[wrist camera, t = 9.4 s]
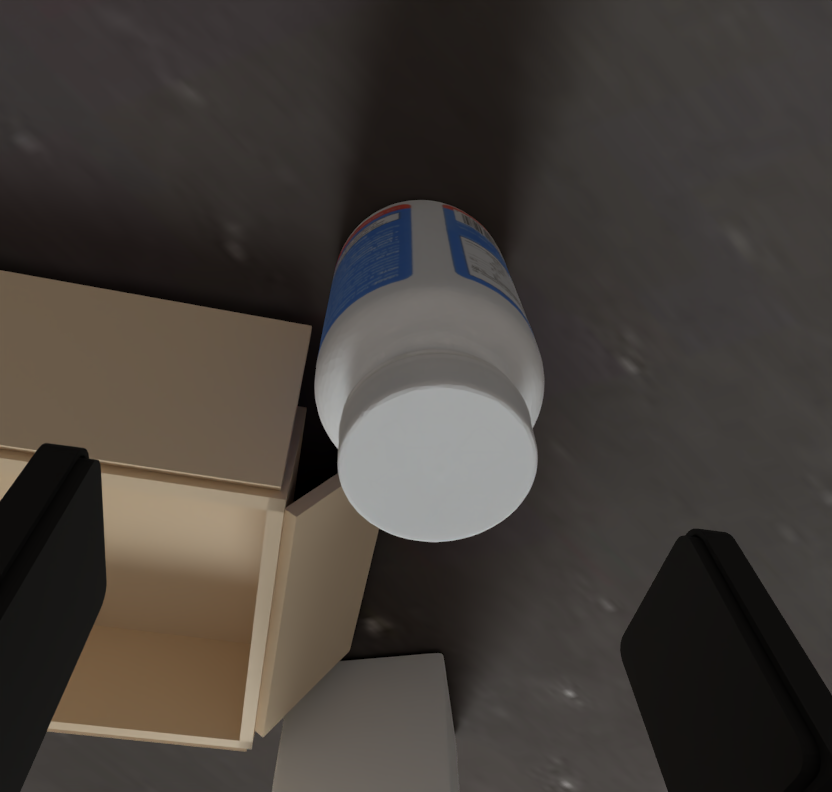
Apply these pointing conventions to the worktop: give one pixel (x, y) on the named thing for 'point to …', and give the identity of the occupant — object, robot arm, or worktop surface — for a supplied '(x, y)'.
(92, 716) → the carton
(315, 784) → the milk carton
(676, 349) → the worktop surface
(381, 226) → the pill bottle
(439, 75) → the worktop surface
